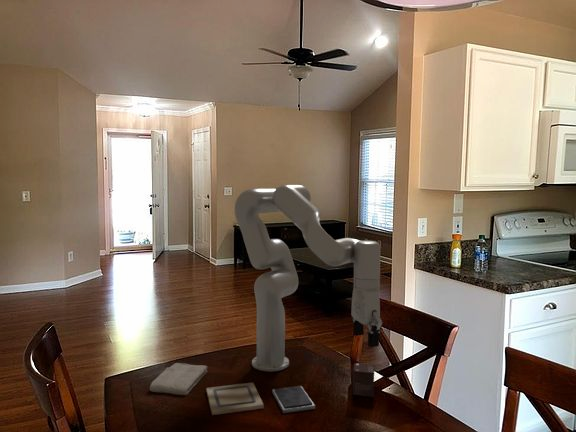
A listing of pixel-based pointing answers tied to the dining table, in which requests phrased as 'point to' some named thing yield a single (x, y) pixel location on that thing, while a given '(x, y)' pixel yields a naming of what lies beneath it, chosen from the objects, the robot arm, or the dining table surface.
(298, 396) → the ink pad
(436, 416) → the dining table surface
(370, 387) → the box
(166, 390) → the washcloth
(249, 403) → the board
